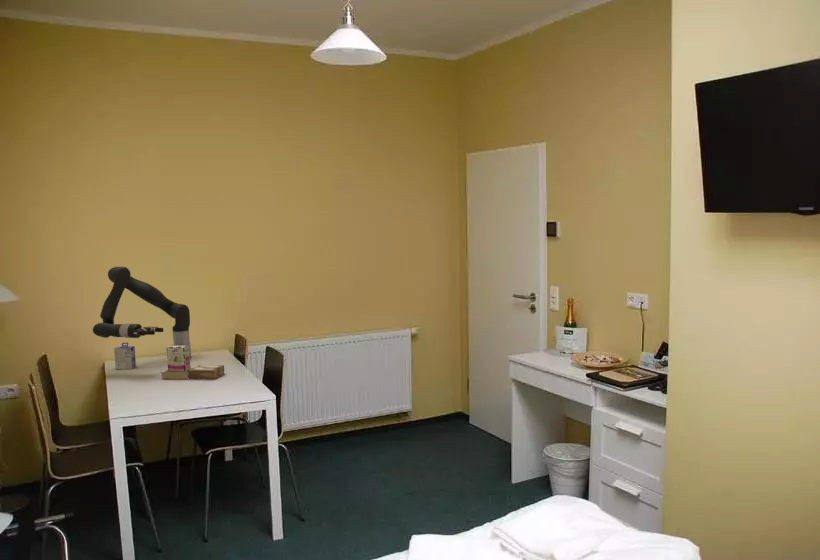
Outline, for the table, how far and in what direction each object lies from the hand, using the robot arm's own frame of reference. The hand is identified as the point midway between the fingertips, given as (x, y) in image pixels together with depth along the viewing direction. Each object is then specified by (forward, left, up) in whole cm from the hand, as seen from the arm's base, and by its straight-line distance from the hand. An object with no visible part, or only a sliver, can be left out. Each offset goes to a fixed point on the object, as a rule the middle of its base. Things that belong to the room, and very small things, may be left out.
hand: (158, 331), depth 345 cm
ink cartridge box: (-16, -32, -24) cm, 43 cm away
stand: (0, +26, -24) cm, 36 cm away
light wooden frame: (0, +11, -24) cm, 26 cm away
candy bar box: (0, +11, -24) cm, 27 cm away
